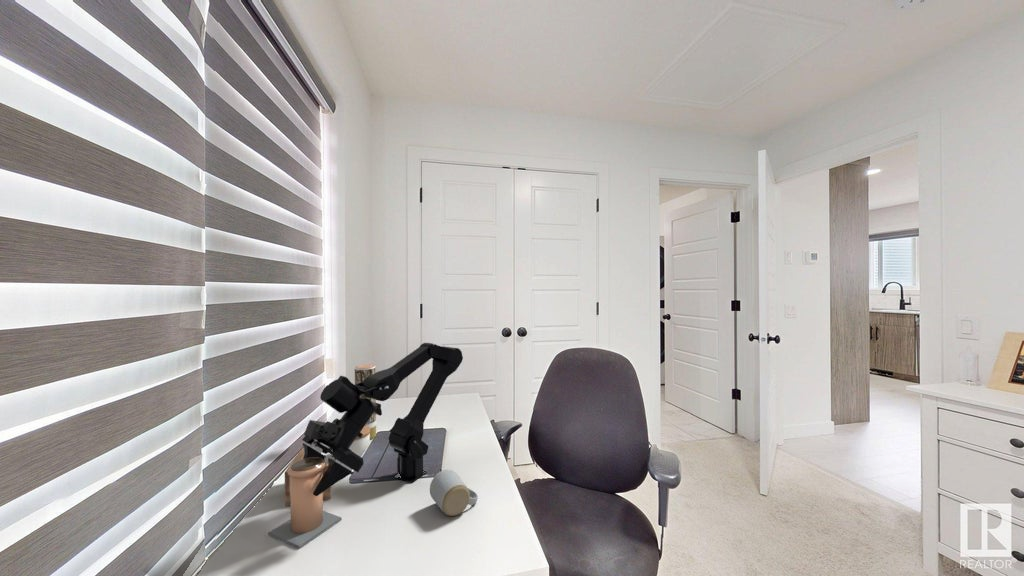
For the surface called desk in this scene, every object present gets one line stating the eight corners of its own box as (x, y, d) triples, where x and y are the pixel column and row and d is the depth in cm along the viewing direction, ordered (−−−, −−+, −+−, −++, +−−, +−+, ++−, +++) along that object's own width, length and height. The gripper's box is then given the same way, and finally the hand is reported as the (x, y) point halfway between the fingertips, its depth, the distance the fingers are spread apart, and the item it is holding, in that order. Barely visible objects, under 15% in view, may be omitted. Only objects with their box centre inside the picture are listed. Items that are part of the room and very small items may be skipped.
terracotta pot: (329, 512, 84) (329, 455, 84) (319, 532, 77) (319, 469, 77) (295, 516, 83) (294, 458, 83) (282, 537, 76) (282, 473, 76)
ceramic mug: (442, 523, 81) (443, 488, 81) (429, 505, 88) (429, 473, 88) (484, 507, 87) (484, 475, 87) (468, 491, 93) (468, 461, 94)
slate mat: (341, 520, 82) (341, 517, 82) (299, 548, 73) (299, 545, 73) (311, 509, 86) (311, 506, 86) (268, 535, 77) (268, 532, 77)
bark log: (371, 441, 125) (370, 368, 125) (351, 441, 125) (351, 368, 125) (379, 433, 131) (378, 364, 131) (360, 433, 131) (359, 364, 131)
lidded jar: (361, 464, 109) (361, 432, 109) (326, 464, 109) (325, 432, 109) (375, 448, 119) (375, 419, 119) (343, 448, 120) (343, 419, 120)
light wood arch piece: (340, 473, 103) (340, 445, 103) (330, 498, 91) (330, 466, 91) (301, 478, 101) (300, 449, 101) (285, 505, 88) (284, 472, 88)
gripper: (310, 398, 90) (258, 460, 81) (349, 413, 78) (294, 487, 69) (342, 420, 96) (297, 480, 87) (382, 437, 84) (336, 508, 76)
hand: (305, 488), depth 80 cm, fingers open, 9 cm apart
